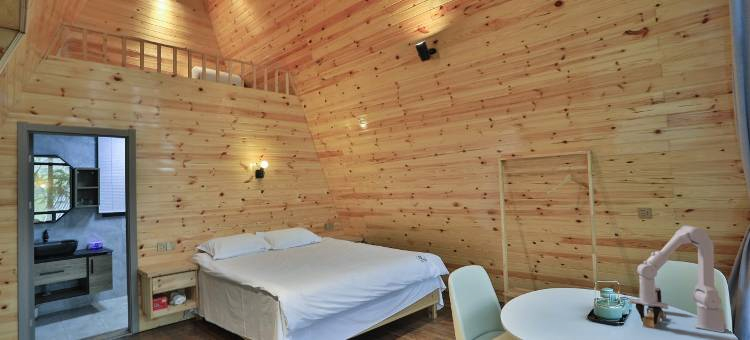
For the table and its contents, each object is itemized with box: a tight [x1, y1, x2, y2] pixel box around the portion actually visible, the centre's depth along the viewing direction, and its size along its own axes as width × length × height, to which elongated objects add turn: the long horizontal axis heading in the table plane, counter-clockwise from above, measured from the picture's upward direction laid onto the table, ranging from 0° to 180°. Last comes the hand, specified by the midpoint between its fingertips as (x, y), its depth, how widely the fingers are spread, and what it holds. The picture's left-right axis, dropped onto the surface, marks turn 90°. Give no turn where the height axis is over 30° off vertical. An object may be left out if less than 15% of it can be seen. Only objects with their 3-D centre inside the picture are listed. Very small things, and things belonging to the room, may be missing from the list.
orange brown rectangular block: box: [642, 311, 661, 329], centre depth 187 cm, size 4×12×4 cm, turn 135°
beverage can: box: [647, 285, 663, 312], centre depth 204 cm, size 6×6×12 cm
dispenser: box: [646, 307, 667, 323], centre depth 194 cm, size 6×6×5 cm
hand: (649, 322), depth 184 cm, fingers closed on orange brown rectangular block, 4 cm apart
